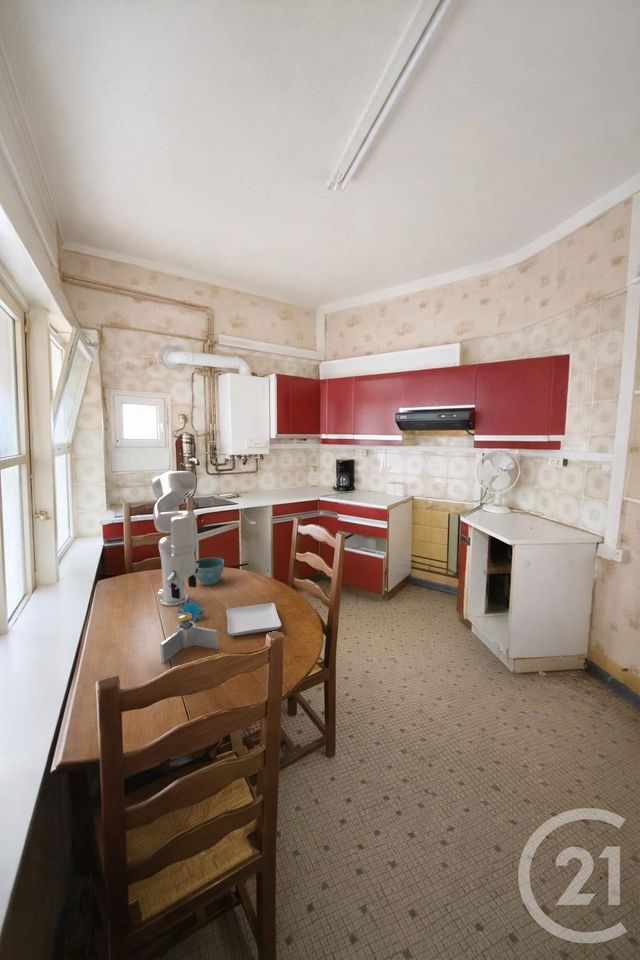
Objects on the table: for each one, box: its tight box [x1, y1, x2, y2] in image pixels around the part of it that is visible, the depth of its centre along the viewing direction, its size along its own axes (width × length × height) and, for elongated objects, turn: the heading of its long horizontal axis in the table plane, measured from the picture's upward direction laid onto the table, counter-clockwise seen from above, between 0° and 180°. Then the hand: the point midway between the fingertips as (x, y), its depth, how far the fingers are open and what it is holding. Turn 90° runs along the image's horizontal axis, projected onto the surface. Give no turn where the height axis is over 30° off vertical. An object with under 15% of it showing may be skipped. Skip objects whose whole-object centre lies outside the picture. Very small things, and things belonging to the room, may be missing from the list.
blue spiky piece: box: [177, 599, 206, 623], centre depth 163 cm, size 11×6×10 cm
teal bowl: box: [195, 557, 225, 586], centre depth 201 cm, size 16×16×11 cm
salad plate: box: [225, 602, 282, 636], centre depth 159 cm, size 21×21×3 cm
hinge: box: [159, 620, 219, 664], centre depth 137 cm, size 17×17×7 cm
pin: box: [178, 612, 193, 629], centre depth 143 cm, size 5×5×11 cm
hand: (184, 592), depth 142 cm, fingers open, 9 cm apart
